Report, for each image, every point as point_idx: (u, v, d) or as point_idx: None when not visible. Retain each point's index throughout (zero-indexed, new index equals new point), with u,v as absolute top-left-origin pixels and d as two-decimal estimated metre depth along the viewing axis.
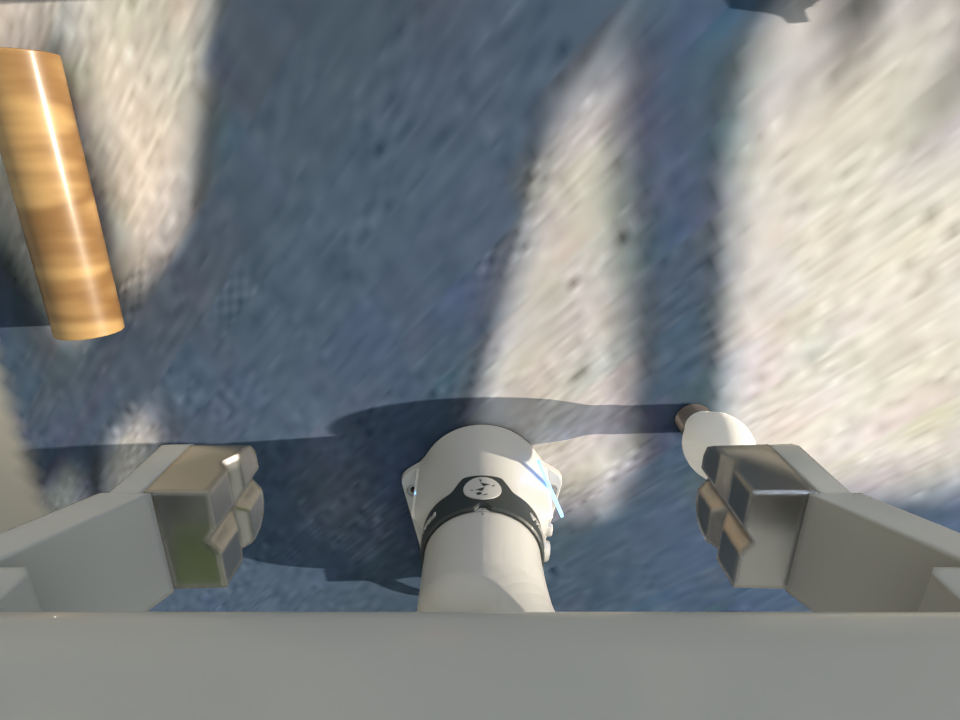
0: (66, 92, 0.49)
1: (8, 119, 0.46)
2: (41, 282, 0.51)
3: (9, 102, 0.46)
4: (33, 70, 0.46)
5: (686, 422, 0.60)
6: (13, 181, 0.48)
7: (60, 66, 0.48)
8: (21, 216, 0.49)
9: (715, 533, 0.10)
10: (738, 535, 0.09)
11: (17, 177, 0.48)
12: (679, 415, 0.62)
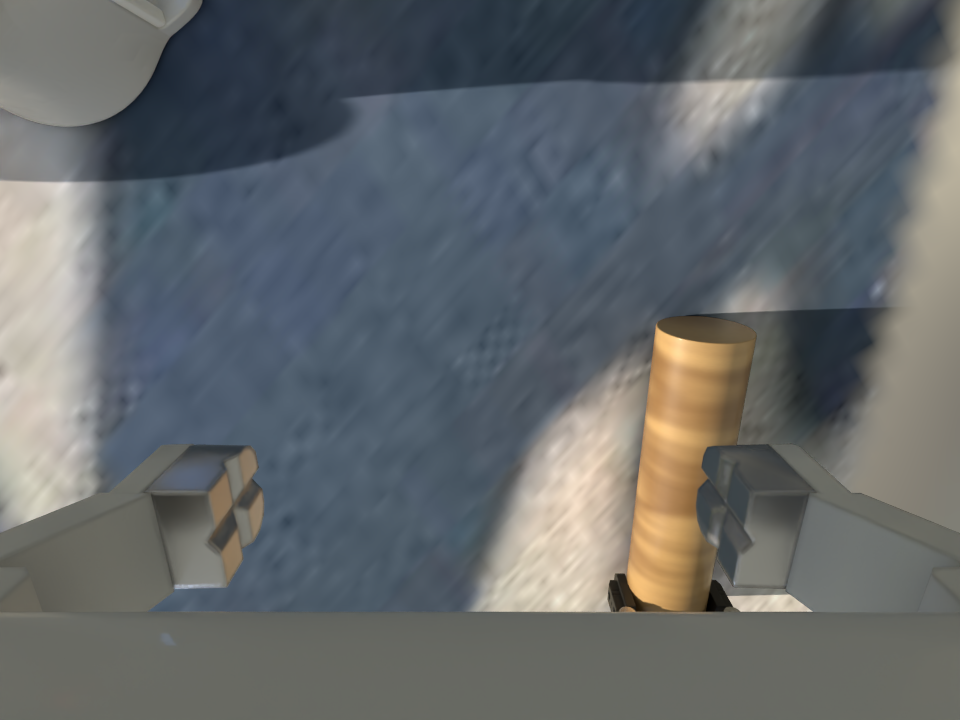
0: None
1: (681, 602, 0.39)
2: (730, 425, 0.35)
3: None
4: None
5: None
6: None
7: None
8: None
9: (715, 533, 0.10)
10: (738, 535, 0.09)
11: (699, 549, 0.38)
12: None
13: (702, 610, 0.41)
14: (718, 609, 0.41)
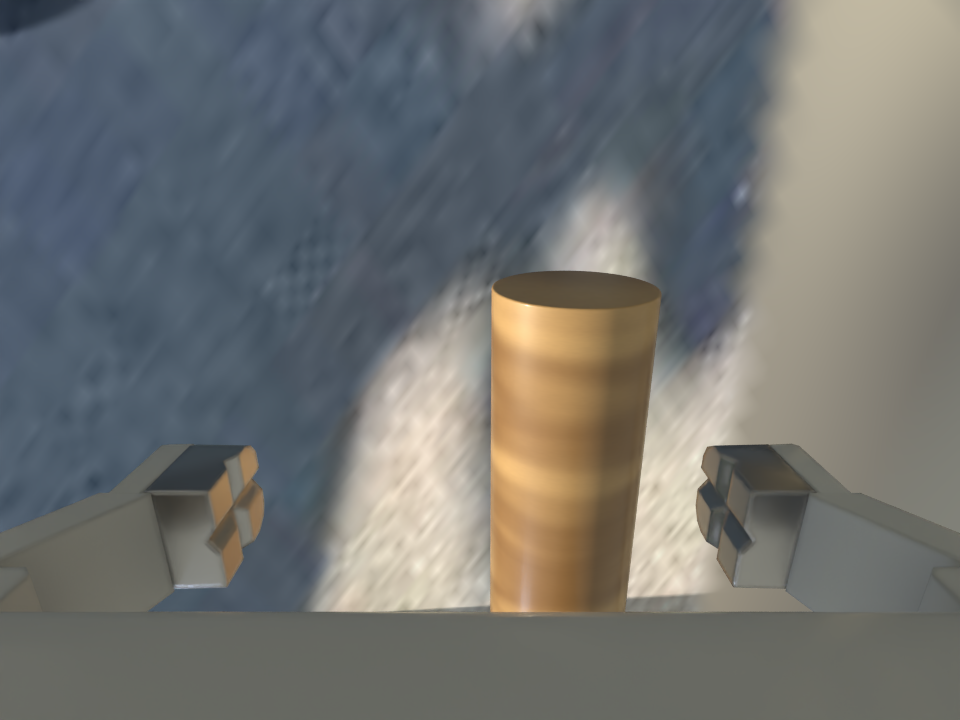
0: None
1: None
2: (619, 458, 0.20)
3: None
4: None
5: None
6: None
7: None
8: (610, 590, 0.22)
9: (715, 533, 0.10)
10: (738, 535, 0.09)
11: None
12: None
13: None
14: None
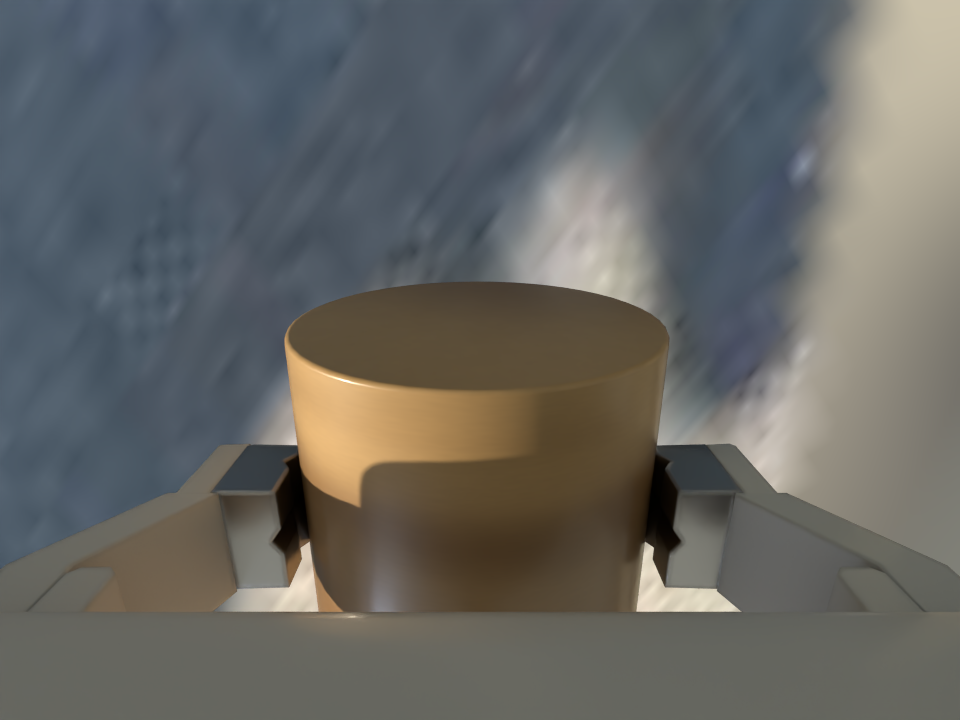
0: None
1: None
2: None
3: None
4: None
5: None
6: None
7: None
8: None
9: (653, 533, 0.10)
10: (670, 535, 0.09)
11: None
12: None
13: None
14: None
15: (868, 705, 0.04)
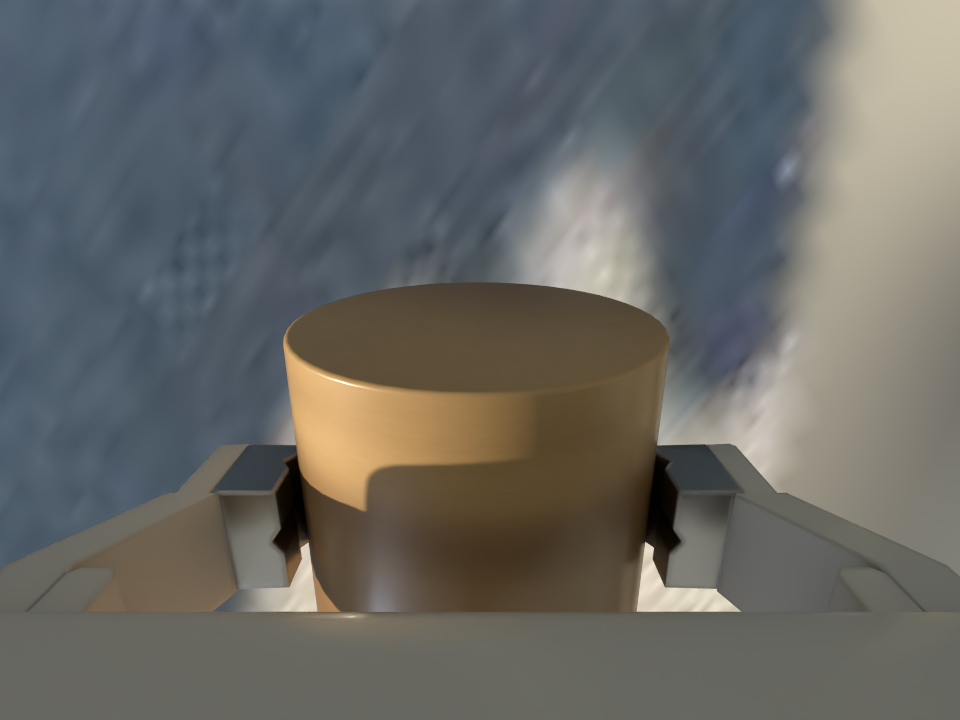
0: None
1: None
2: None
3: None
4: None
5: None
6: None
7: None
8: None
9: (652, 533, 0.10)
10: (669, 535, 0.09)
11: None
12: None
13: None
14: None
15: (868, 705, 0.04)
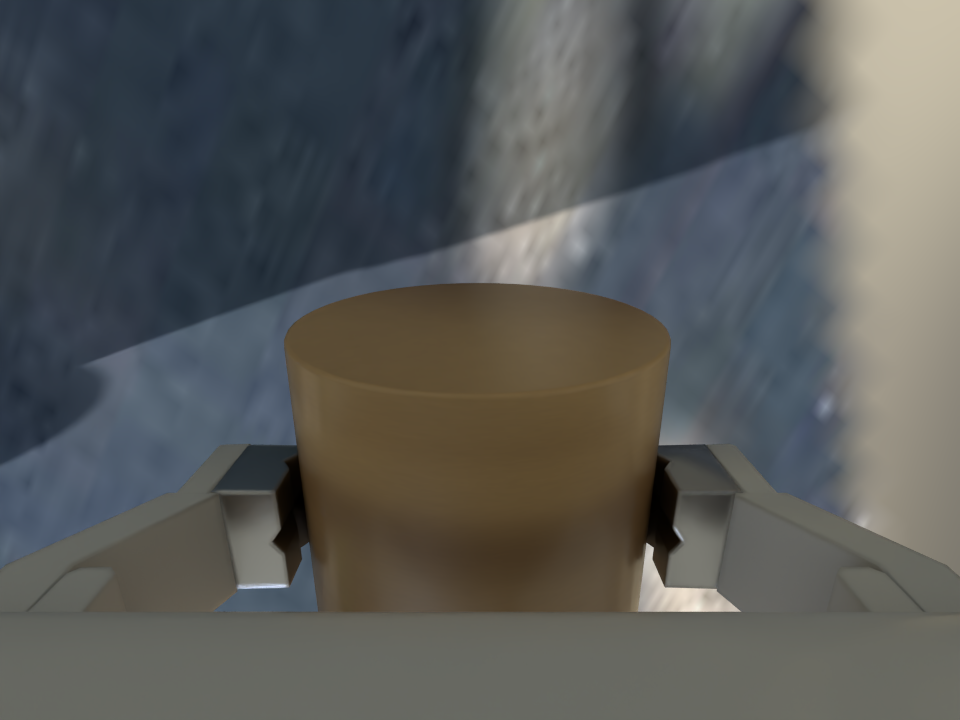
0: None
1: None
2: None
3: None
4: None
5: None
6: None
7: None
8: None
9: (652, 533, 0.10)
10: (669, 535, 0.09)
11: None
12: None
13: None
14: None
15: (868, 705, 0.04)
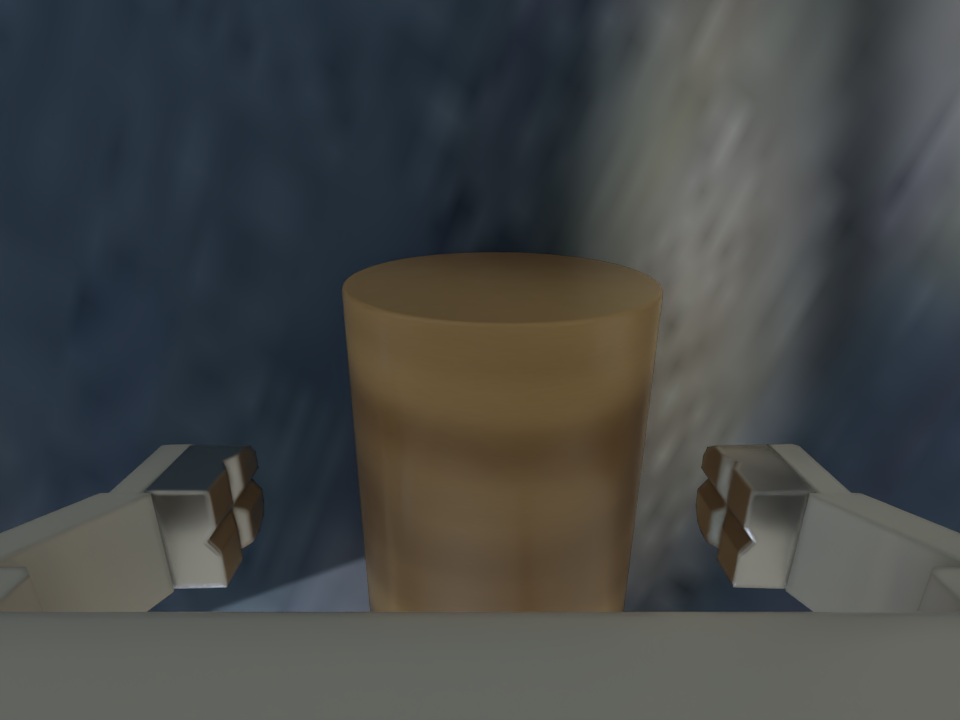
0: None
1: None
2: (575, 607, 0.10)
3: None
4: None
5: None
6: None
7: None
8: None
9: (715, 533, 0.10)
10: (738, 535, 0.09)
11: None
12: None
13: None
14: None
15: (868, 705, 0.04)
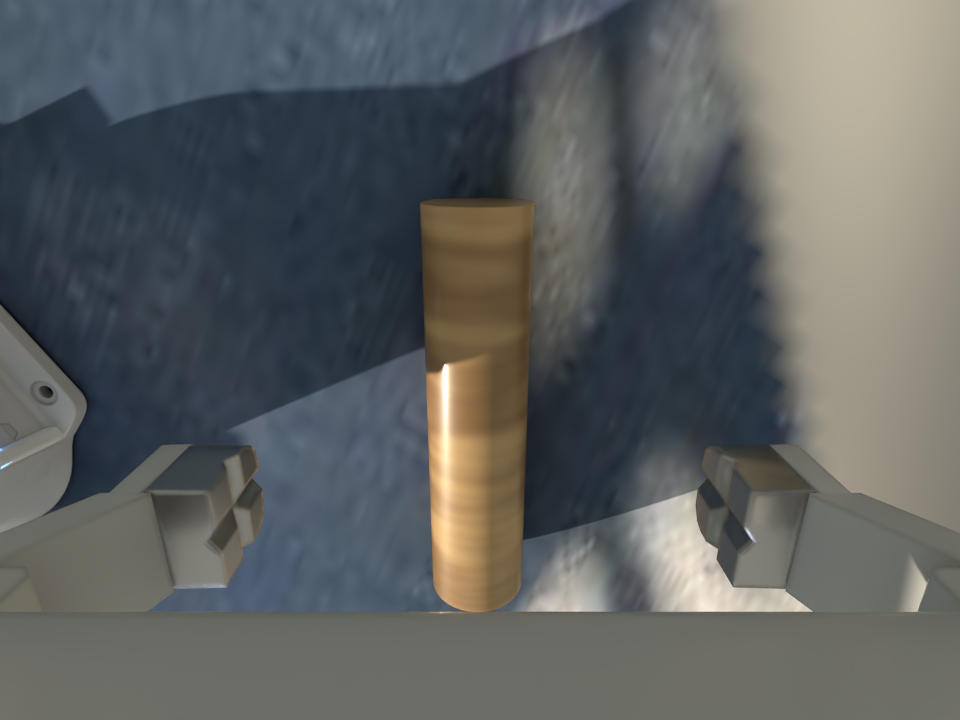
0: None
1: (476, 543, 0.33)
2: (504, 318, 0.29)
3: (469, 559, 0.34)
4: (440, 579, 0.36)
5: None
6: (499, 468, 0.32)
7: None
8: (505, 421, 0.31)
9: (715, 533, 0.10)
10: (738, 535, 0.09)
11: (488, 476, 0.32)
12: None
13: (508, 554, 0.34)
14: None
15: (868, 705, 0.04)
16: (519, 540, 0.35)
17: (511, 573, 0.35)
